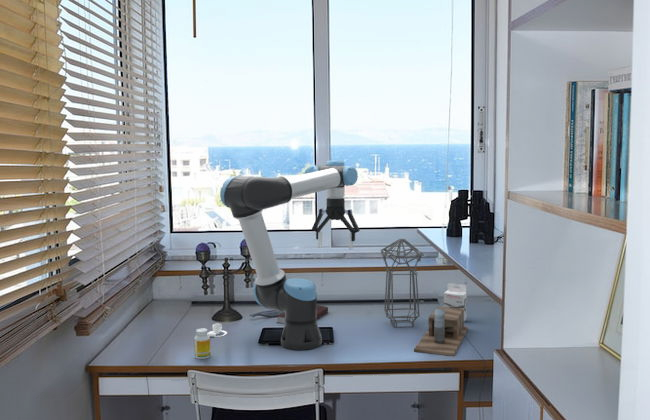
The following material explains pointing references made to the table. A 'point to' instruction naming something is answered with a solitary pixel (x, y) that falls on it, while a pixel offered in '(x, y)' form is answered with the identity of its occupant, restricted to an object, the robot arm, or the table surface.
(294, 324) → the robot arm
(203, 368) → the table surface
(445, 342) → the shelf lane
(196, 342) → the supplement bottle
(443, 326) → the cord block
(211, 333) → the teacup and saucer
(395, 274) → the geometric lantern
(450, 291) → the ink box
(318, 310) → the book
